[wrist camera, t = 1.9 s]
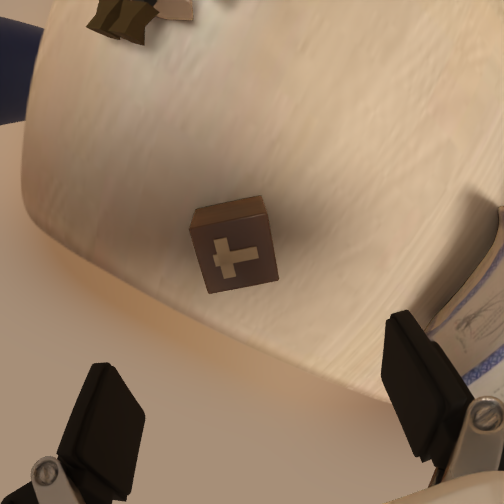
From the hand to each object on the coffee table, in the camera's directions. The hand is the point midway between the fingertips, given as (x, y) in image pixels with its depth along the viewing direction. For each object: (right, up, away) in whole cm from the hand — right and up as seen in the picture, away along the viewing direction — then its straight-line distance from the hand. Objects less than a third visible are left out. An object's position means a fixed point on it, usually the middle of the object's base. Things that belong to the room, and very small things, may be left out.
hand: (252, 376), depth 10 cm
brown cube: (-1, +5, +11) cm, 12 cm away
